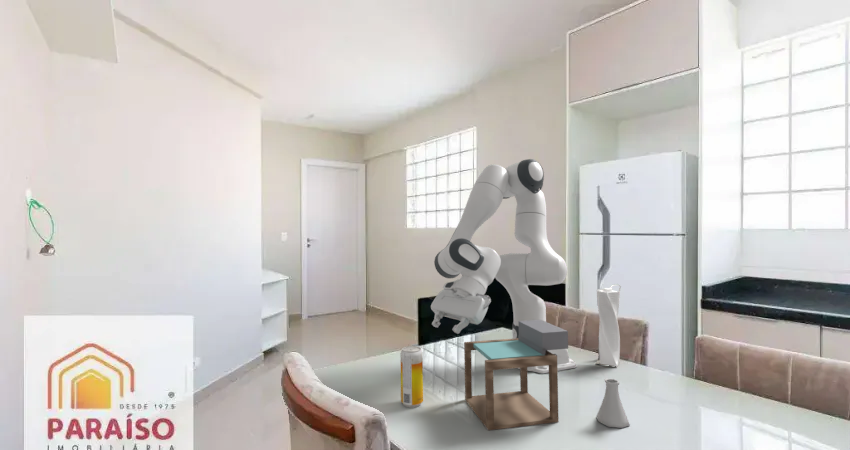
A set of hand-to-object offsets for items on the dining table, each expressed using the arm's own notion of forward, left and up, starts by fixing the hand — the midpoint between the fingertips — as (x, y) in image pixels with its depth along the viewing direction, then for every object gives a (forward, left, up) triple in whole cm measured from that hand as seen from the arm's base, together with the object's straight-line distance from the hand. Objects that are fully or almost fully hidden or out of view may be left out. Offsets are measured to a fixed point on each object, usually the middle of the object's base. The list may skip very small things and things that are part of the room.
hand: (444, 328), depth 119 cm
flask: (-35, +27, -19) cm, 48 cm away
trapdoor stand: (-13, +15, -18) cm, 27 cm away
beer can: (+11, +5, -19) cm, 22 cm away
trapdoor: (-16, +15, -3) cm, 23 cm away
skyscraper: (-62, -11, -19) cm, 66 cm away
